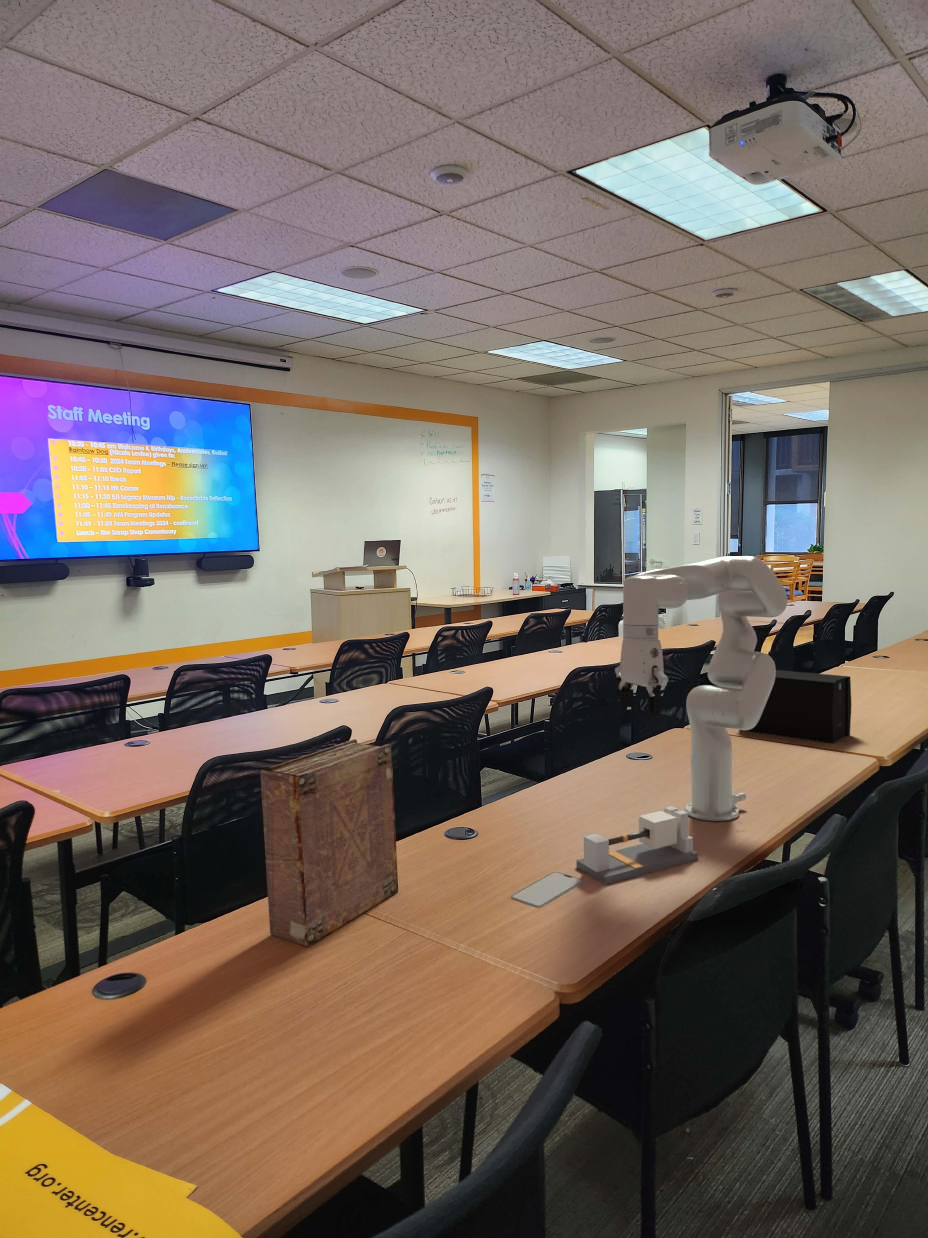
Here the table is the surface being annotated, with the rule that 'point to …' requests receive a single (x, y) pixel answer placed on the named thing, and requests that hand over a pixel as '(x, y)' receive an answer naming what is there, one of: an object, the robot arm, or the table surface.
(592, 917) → the table surface
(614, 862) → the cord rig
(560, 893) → the smartphone
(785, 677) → the uninterruptible power supply
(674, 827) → the notched cream block
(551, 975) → the table surface
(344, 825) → the book
